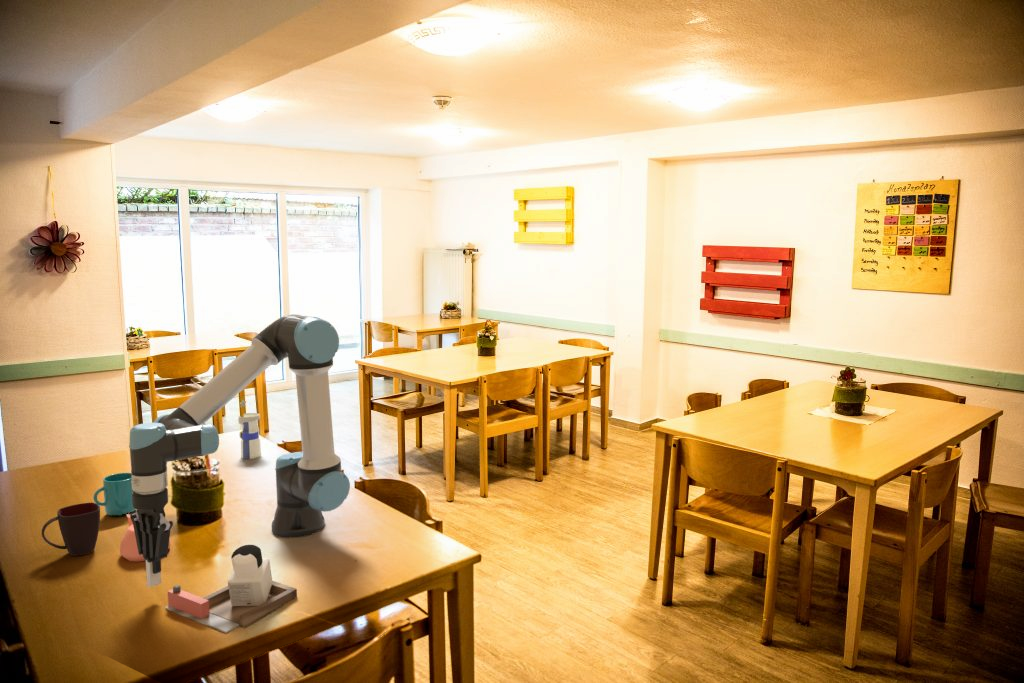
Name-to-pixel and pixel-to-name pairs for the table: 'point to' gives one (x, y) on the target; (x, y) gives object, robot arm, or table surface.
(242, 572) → the container
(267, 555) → the table surface
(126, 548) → the teapot
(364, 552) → the table surface
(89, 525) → the mug
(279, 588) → the brown tray
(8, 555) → the table surface
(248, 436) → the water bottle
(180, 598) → the bar
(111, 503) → the cup
